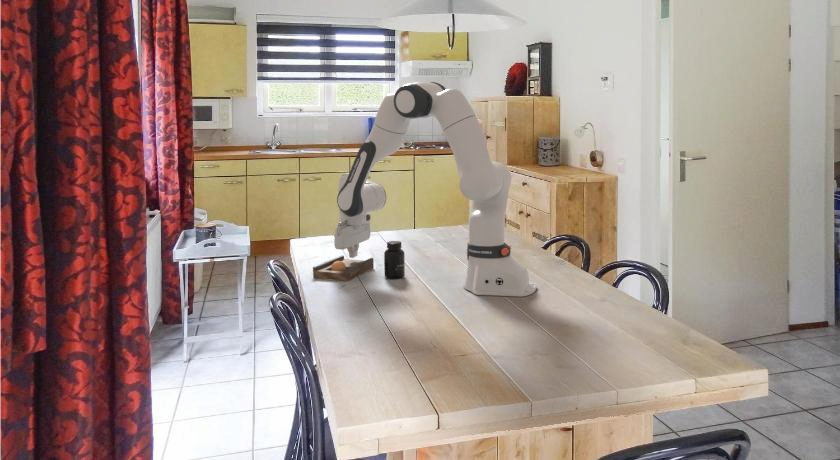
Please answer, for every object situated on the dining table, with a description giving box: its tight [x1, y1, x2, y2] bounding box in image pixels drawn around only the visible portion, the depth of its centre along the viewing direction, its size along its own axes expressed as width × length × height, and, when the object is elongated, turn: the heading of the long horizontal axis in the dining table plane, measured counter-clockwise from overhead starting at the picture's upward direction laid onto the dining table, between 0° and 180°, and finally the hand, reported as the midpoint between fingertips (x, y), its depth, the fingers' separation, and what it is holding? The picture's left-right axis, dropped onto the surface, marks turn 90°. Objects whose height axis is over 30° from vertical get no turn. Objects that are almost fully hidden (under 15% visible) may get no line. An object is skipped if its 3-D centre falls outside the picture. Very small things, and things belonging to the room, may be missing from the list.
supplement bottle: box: [383, 240, 406, 280], centre depth 225 cm, size 7×7×12 cm
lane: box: [312, 255, 375, 282], centre depth 232 cm, size 13×19×4 cm
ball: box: [331, 261, 346, 272], centre depth 229 cm, size 5×5×5 cm
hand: (353, 256), depth 238 cm, fingers closed
